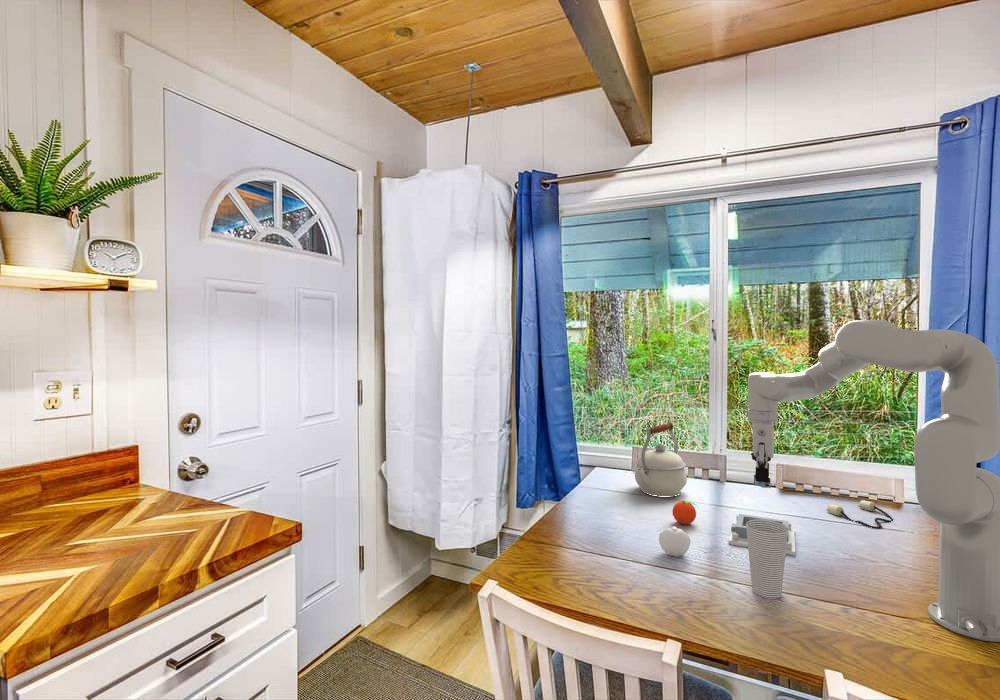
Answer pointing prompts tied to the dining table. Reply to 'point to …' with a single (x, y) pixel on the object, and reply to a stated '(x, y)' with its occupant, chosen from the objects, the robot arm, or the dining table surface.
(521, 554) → the dining table surface
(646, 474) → the kettle
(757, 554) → the cup
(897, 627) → the dining table surface
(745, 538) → the frame
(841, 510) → the cable
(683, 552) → the white rounded piece
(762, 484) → the push button
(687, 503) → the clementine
